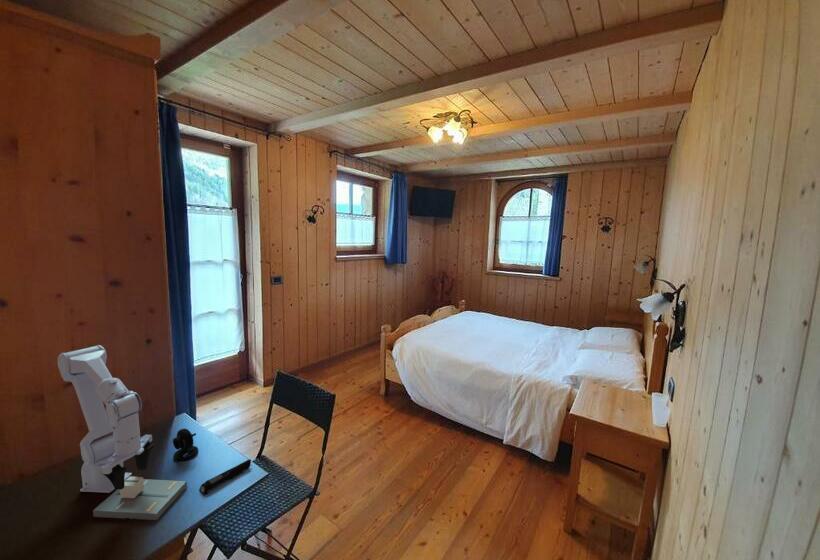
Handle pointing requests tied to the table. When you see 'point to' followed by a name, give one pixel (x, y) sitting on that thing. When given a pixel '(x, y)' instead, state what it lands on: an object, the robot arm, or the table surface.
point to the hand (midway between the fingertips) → (131, 478)
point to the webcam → (184, 445)
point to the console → (142, 501)
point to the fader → (132, 487)
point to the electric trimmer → (224, 477)
